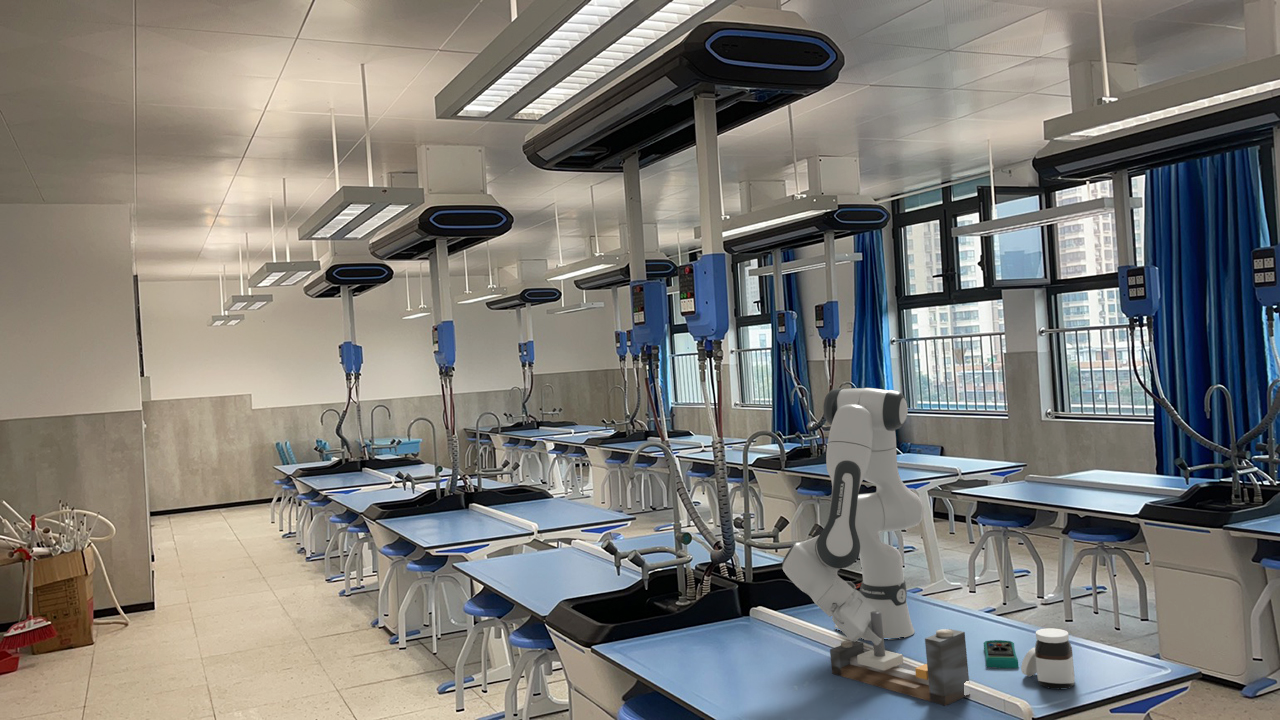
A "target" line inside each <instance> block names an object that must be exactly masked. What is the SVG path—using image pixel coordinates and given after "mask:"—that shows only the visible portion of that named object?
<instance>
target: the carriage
mask: <svg viewBox="0 0 1280 720" xmlns="http://www.w3.org/2000/svg"><path fill="white" fill-rule="evenodd" d="M870 614H871V625H872V632H873V633H875V634H878V635H879V636H880V637H881V638H882V641H881V643H880V644H879V645H875V644H874V643H873V642H872V644H873V645H872V646H873V649H871V650H867V651H864V653H862V654H859V655H857V660H858V664H861V665H865V666H869V667H873V668H876V669H880V670H884V671H885V670H887V669H890V668H892V667H894V666H896V667H898V666H899V665H902V664H904V656H903V654H901V653H898V652H893V651H889V650H886V648H885V640H884V635H883V624H882V613H881V612H880V611H872V612H870Z"/></svg>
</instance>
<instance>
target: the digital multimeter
mask: <svg viewBox="0 0 1280 720" xmlns="http://www.w3.org/2000/svg"><path fill="white" fill-rule="evenodd" d="M983 650H984V654H985V667H986V666H987V668H988V667H997V668H996V669H1018V668H1019V659H1018V657H1017V654H1016V650H1015V642H1013V641H1011V640H1005V639H1004V640H1001V639H992V640H985V641H984V642H983ZM999 667H1000V668H999Z"/></svg>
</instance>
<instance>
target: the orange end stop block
mask: <svg viewBox="0 0 1280 720" xmlns="http://www.w3.org/2000/svg"><path fill="white" fill-rule="evenodd" d="M914 671H915V672H916V677H918V678H922V679H925V680H928V668H927V663H925V664H923V665H920V666H918V667H915V669H914Z"/></svg>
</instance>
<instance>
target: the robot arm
mask: <svg viewBox="0 0 1280 720" xmlns="http://www.w3.org/2000/svg"><path fill="white" fill-rule="evenodd" d="M907 402H908V401H907V399H906V397H905V396H904V395H903V393H902V392H900V391H897V390H892V389H889V390H887V389H881V388H873V387H864V388H861V387H860V388H859V387H858V388H843V387H839V388H834V389H833V388H832V389H831V390H830V391H829V392H828V393H827V394H826V395H825V397H824V402H823V417H824V420H826V422H827V423H828V424H829V425H831V426H830V429H829V434H828V438H827V444H826V445H827V446H826V454H825V455H826V458H825V460H826V463H825V464H826V465H825V466H826V471H827V473H828V476H829V477H830V480H831V486H832V487H831V497H830V498H831V499H830V504H829V513H828V519H827V523H826V524H825V526H824V528H823V529H822V530H821V532H820V534H819V535H816V536H815V537H812V538H809V539H807V540H803V541H799V542H797V541H796V542H794V543H793V544H792V545H791V546H790V548H789V549H788V551H787V553H786V554H785V556H784V558H783V560H782V570H783V572H784V573H785V575H786V576H787V578H788V579H789V580H790V581H791V582H792V583H793V584H794V585H795V586H796V587H797V588H798V589H799V590H800V591H802V592H803V593H805V594H806V595H808V596H809V597H810V598H811V599H812V601H813V602H814V604H815V605H816V606H817V607H819V608H820V610H822V612H824V614H826V615H827V616H828V617H830V618H831V617H832V618H831V619H832V622H833V623H834V625H835V626H834V629H835V628H838V629H840V630H841V631H842V633H843V634H844V635H845V636H846V637H847V638H848V640H849V641H854V642H856V641H859V639H861V638H862V640H863V639H864V640H863V641H871V643H872V644H873V643H874V644H875V645H879V644H880V643H881V641H882V638H881V637H880V636H879V635H878V634H875V633H873V632H872V625H871V614H870V612H872V611H880V612H881V613H882V624H883V635H884V638H899V637H904V638H907V637H911V636H912V635H914V634H915V629H914V626H913V623H912V619H911V616H910V612H909V607H908V603H907V594H908V592H907V583H906V580H905V578H904V568H903V557H902V555H901V552H900V551H899V550H898V549H897V548H895V547H894V546H892V545H890V544H887V543H886V542H882V541H881V539H880V533H883V532H884V533H887V532H895V531H896V532H897V531H903V530H907V529H910V528H913V527H916V526H918V525H919V524H921V521H922V520H923V517H924V512H925V510H924V504H923V502H922V499H921V498H920V496H918V495H917V493H915V492H913V491H912V490H911V489H909V487H907V486H906V484H905V483H904V482H903V480H902V479H901V476H900V474H899V469H898V468H899V467H898V460H897V459H898V458H897V457H898V456H897V436H896V430H898V429H901V427H903V426H904V425H905V422H906V420H907V417H908V412H909V410H908V409H909V408H908V403H907ZM863 480H864V481H866V482H868V483H870V484H873V485H875V487H876V491H875V492H870V493H859V492H860V488H861V485H862V482H863ZM858 558H859V559H860V566H861V574H862V581H861V582H860V583H856V584H855V583H854V582H852V581H851V580H850V581H849V580H844V579H843V578H841V577H840V576H839V575H838V571H840V569H845V568H847V567H848V568H849V567H850V566H852V565H853V564H854V563H855V562H856V561H857V559H858ZM858 588H860V589H859V590H857V589H858ZM841 631H840V632H841ZM899 639H900V638H899Z"/></svg>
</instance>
